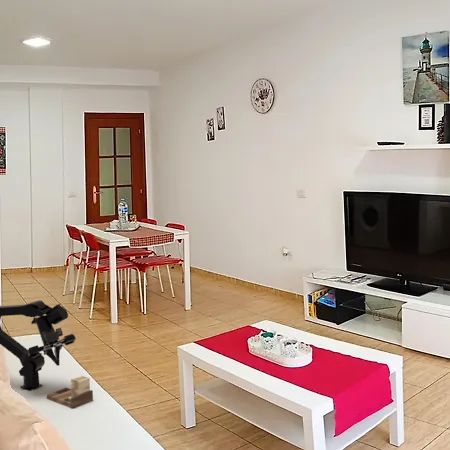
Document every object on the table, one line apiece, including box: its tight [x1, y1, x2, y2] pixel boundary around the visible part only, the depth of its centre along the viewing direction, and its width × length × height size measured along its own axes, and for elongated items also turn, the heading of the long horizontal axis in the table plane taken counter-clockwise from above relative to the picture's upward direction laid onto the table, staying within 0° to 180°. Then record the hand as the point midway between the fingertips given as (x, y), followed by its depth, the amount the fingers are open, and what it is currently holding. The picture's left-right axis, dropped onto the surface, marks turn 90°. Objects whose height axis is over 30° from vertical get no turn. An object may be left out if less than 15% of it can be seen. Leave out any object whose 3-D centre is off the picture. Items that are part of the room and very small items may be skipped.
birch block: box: [70, 375, 91, 397], centre depth 226 cm, size 5×5×8 cm
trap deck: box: [46, 387, 94, 409], centre depth 228 cm, size 16×10×4 cm, turn 53°
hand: (58, 365), depth 232 cm, fingers closed
